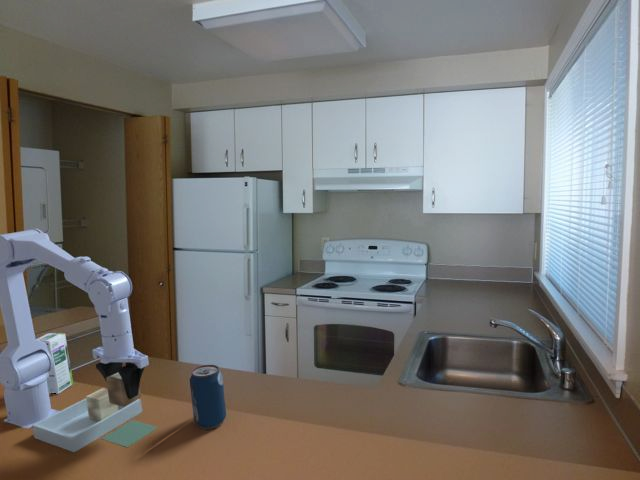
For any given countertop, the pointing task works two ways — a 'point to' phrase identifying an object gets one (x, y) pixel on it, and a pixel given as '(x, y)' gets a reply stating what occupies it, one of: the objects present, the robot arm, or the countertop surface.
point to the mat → (129, 433)
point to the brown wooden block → (119, 391)
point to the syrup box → (58, 362)
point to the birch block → (100, 405)
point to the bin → (80, 425)
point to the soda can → (207, 396)
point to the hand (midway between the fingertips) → (124, 394)
